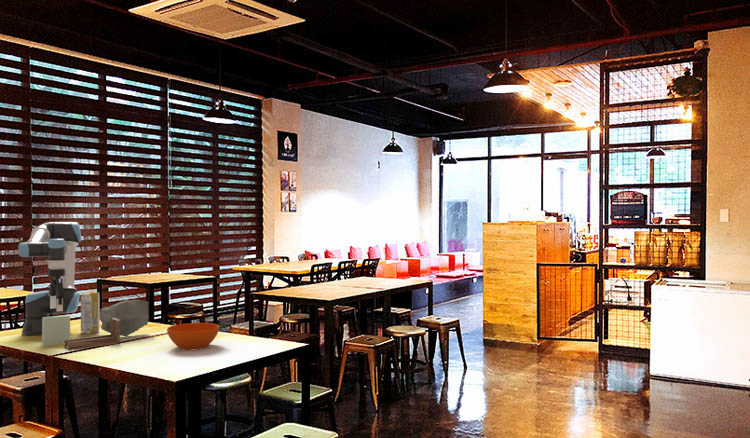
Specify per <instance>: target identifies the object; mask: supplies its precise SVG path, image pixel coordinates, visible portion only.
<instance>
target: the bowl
mask: <svg viewBox="0 0 750 438" xmlns="http://www.w3.org/2000/svg"><path fill="white" fill-rule="evenodd" d="M166 330H167V331H166V332H167V334H168V337H169V339H170V340H171V341H172V343H174V345H175V346H176V347H178V349H179V350H182V349H184V351H192V350H191V349H197V350H201V349H200V348H203V349H206V348H208V347H209V345H210V344H212V343H213V341H214V340H215V339H216V337H217V336H218V333H219V331H220V325H219V324H216V323H210V322H193V323H192V322H191V323H190V322H189V323H181V324H175V325H171V326H169V327H167V328H166ZM207 346H208V347H207ZM205 347H206V348H205Z"/></svg>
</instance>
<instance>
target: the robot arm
mask: <svg viewBox="0 0 750 438" xmlns="http://www.w3.org/2000/svg"><path fill="white" fill-rule="evenodd" d="M79 242H82V234H81V227H80V224H79V223H78V221H77V222H76V221H48V222H44V223H42V224H38V225H37V226H35V227H34V228H33V230H32V231H31V233H30V237H29V239H28V240H27V241H25V242H20V243H19V244H18V256H20V257H22V258H25V257H26V258H33V257H34V258H37V257H38V258H39V257H47V258H48V260H47V263H46V264H47V266H48V267H47V268H48V270H47V272H48V273H47V275H48V277H50V278H49V279H50V281H49V282H50V283H49V290H41V291H34V292H31V293H28V294H27V295H26V296H25V321H24V323H23V327H22V328H21V335H22V336H42V317H50V315H54V314H55V315H56V314H69V313H70V314H71V313H72V314H73V313H75V312H77V310H78V308H79V303H80V297H81V293H80V292H79V291H78V289H77V288H76V287H75V274H76V273H75V270H76V269H75V268H76V267H75V266H76V264H75V263H76V247H78V246H79Z"/></svg>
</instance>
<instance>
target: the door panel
mask: <svg viewBox="0 0 750 438" xmlns="http://www.w3.org/2000/svg"><path fill="white" fill-rule="evenodd" d="M41 338H42V340H41V345H42V346H44V347H45V346H46V347H47V345H48V346H54V344H56V345H61V344H63V343H64V340H69V339H71V316H70V315H69V314H66V315H65V314H64V315H63V314H62V315H54V316H49V317H42V335H41ZM63 345H64V344H63Z"/></svg>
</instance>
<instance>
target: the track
mask: <svg viewBox="0 0 750 438" xmlns="http://www.w3.org/2000/svg"><path fill="white" fill-rule="evenodd" d="M118 344H121V335H120V320H118V319H116V318H111V333H110V334H103V335H96V336H87V337H79V338H72V339H71V338H70V339H69V340H64V344H63V347H64V348H65V349H67V350H68V351H72V349H74V350H80V349H88V347H89V348H93V347H94V348H95V347H102V346H110V345H118Z"/></svg>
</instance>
